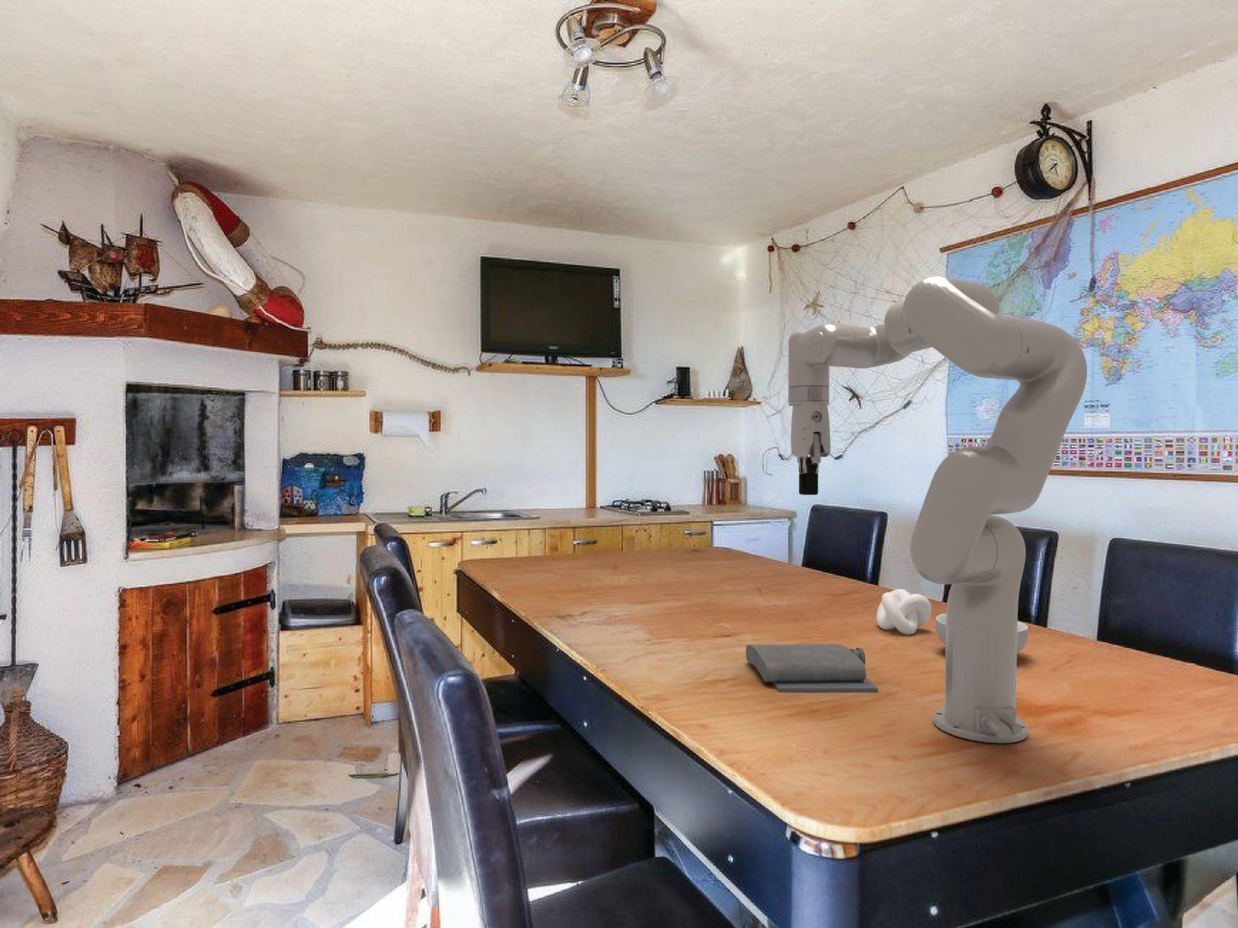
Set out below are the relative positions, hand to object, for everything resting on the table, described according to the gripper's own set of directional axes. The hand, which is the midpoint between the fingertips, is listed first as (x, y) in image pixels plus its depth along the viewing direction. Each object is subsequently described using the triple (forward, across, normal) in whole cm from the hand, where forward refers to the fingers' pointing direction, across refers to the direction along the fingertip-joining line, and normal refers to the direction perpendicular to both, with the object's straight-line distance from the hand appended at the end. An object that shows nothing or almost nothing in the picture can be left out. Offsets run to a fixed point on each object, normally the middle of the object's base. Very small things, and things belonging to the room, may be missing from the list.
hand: (808, 494), depth 144 cm
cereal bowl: (+33, +7, -37) cm, 50 cm away
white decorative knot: (+33, +28, -31) cm, 53 cm away
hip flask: (+30, -4, +11) cm, 32 cm away
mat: (+33, -4, +1) cm, 33 cm away
